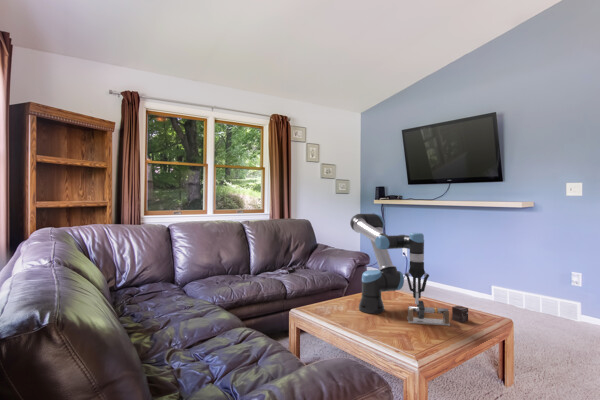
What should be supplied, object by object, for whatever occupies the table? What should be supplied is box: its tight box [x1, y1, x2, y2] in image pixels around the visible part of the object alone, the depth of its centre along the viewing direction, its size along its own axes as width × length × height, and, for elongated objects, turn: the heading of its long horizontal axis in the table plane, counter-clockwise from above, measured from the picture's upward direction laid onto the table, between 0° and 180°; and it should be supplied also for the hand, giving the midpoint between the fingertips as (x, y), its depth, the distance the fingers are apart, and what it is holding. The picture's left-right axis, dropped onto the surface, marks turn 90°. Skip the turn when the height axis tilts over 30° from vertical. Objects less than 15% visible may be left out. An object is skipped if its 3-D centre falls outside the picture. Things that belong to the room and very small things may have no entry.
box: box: [451, 305, 469, 324], centre depth 184 cm, size 6×6×7 cm
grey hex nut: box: [416, 299, 425, 319], centre depth 183 cm, size 2×9×9 cm, turn 169°
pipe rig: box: [406, 305, 451, 327], centre depth 182 cm, size 21×7×8 cm, turn 79°
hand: (416, 303), depth 183 cm, fingers closed
